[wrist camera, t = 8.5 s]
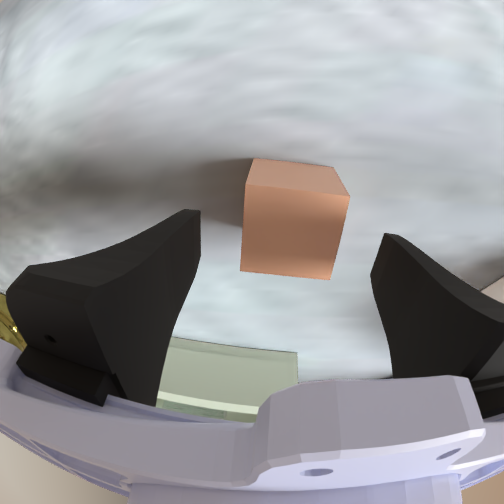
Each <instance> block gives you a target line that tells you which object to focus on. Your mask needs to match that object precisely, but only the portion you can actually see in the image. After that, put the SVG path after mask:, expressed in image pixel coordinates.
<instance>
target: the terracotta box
mask: <svg viewBox="0 0 504 504" xmlns="http://www.w3.org/2000/svg"><path fill="white" fill-rule="evenodd" d="M349 200H350V195H349V194H348V192H347V190H346V188H345V187H344V185H343V183H342V181H341V179H340V178H339V176H338V174H337V173H336V171H335V169H334V168H333V167H326V166H319V165H311V164H304V163H296V162H287V161H278V160H269V159H258V158H254V159H253V162H252V165H251V168H250V172H249V175H248V178H247V181H246V184H245V199H244V215H243V231H242V247H241V264H240V271H245V272H254V273H263V274H273V275H283V276H292V277H303V278H313V279H323V280H330V277H331V274H332V270H333V266H334V262H335V259H336V255H337V251H338V247H339V243H340V239H341V235H342V231H343V226H344V222H345V218H346V213H347V209H348V204H349Z"/></svg>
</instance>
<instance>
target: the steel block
mask: <svg viewBox="0 0 504 504" xmlns="http://www.w3.org/2000/svg"><path fill="white" fill-rule="evenodd" d="M162 409H166V410H170V411H175V412H180V413H185V414H190V415H196V416H202V417H208V418H214V419H221V420H226V416H227V411H225V410H218V409H211V408H205V407H199V406H193V405H188V404H183V403H178V402H173V401H168V400H164V403H163V406H162Z"/></svg>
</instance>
